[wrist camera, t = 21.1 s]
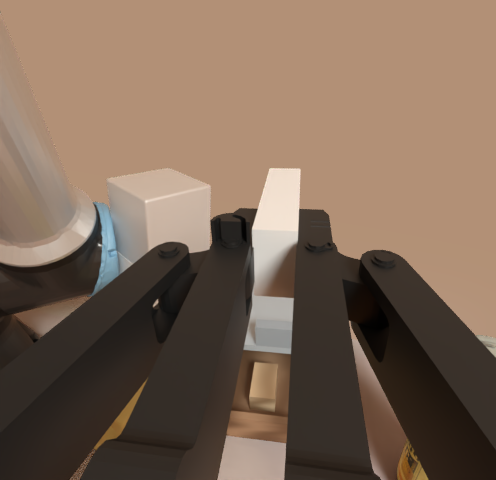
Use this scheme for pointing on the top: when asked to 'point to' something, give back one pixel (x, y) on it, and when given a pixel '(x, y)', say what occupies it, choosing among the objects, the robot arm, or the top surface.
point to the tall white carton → (158, 213)
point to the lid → (270, 324)
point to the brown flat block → (261, 397)
